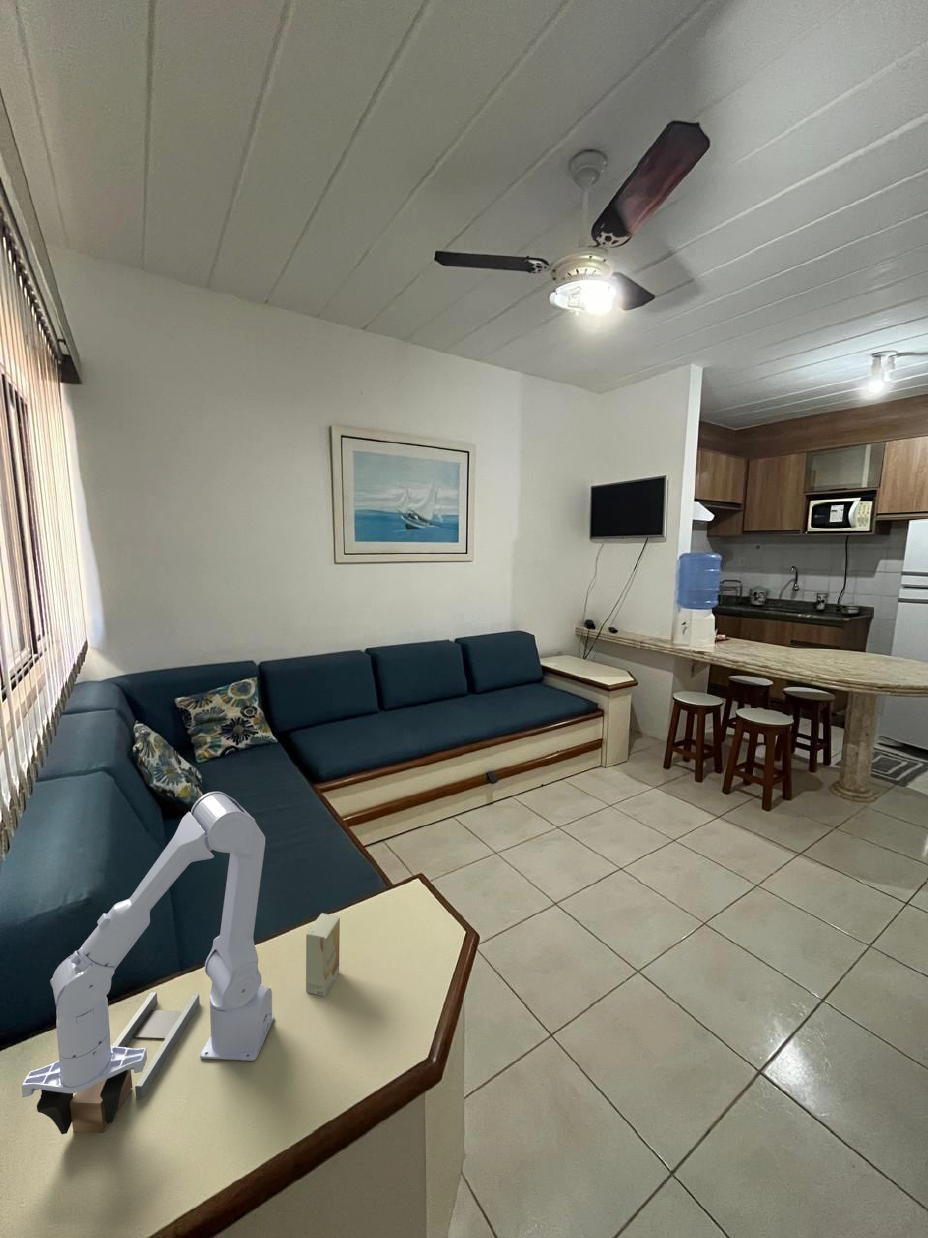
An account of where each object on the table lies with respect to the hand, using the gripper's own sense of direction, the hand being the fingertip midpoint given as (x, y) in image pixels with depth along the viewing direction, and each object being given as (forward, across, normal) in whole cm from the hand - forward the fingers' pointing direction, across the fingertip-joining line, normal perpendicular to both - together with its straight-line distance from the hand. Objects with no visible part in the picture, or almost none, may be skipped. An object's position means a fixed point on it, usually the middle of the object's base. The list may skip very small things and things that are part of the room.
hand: (90, 1121), depth 71 cm
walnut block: (+2, -1, -3) cm, 3 cm away
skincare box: (+2, -32, -18) cm, 37 cm away
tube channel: (+2, -3, -12) cm, 13 cm away
